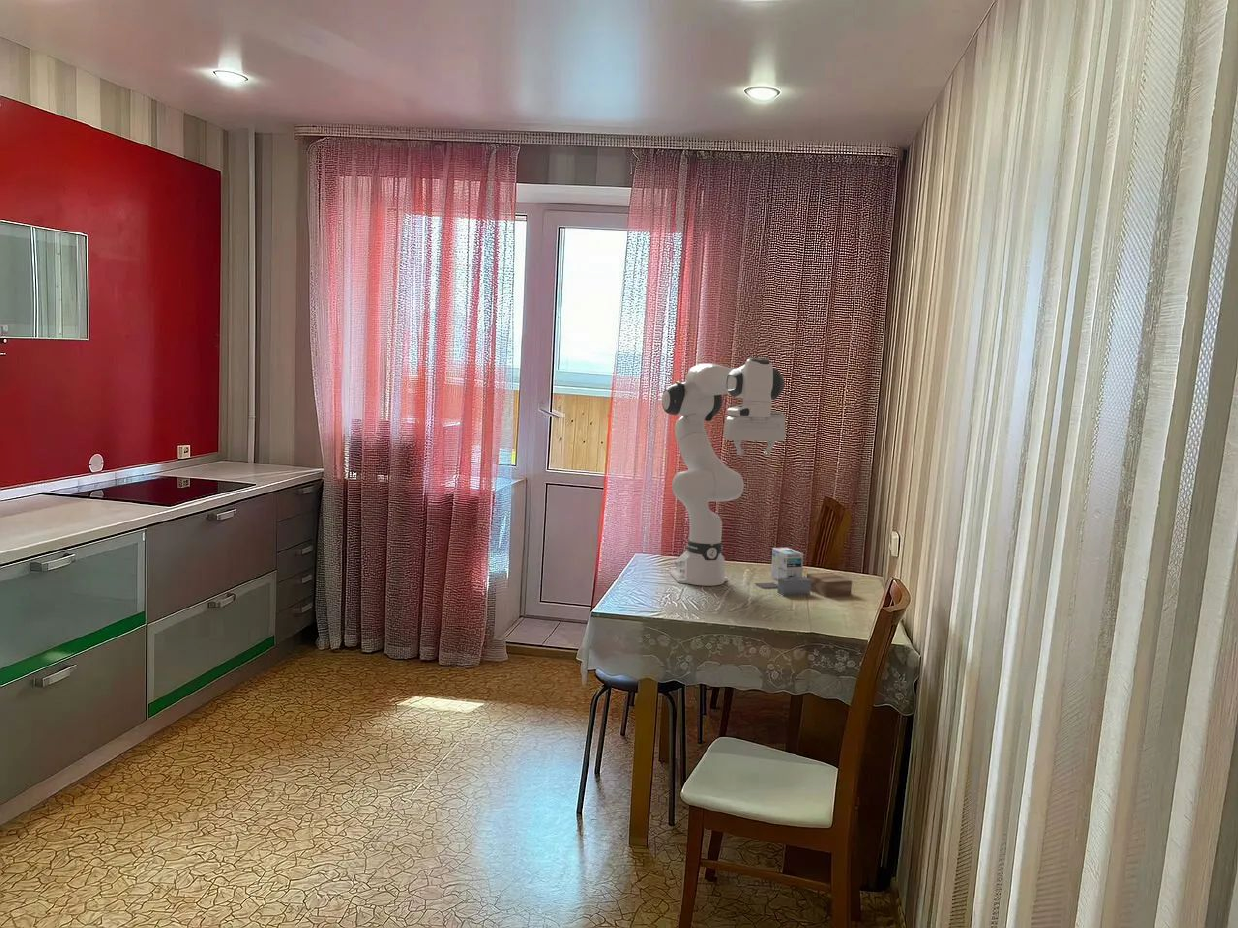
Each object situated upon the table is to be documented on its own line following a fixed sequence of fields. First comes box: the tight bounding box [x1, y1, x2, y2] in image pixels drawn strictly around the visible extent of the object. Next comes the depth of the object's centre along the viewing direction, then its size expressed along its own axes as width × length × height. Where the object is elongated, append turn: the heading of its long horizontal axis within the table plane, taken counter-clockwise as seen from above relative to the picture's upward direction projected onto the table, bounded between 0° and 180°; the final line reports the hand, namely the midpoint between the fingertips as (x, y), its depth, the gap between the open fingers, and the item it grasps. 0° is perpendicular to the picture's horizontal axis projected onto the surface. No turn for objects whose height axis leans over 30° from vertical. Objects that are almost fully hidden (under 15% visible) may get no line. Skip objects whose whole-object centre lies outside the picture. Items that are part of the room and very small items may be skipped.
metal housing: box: [777, 576, 811, 597], centre depth 309 cm, size 4×10×6 cm, turn 110°
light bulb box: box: [770, 547, 804, 581], centre depth 329 cm, size 11×7×11 cm, turn 22°
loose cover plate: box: [754, 582, 778, 590], centre depth 319 cm, size 6×7×1 cm
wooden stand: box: [806, 572, 853, 598], centre depth 315 cm, size 12×10×5 cm
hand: (753, 455), depth 288 cm, fingers open, 8 cm apart
